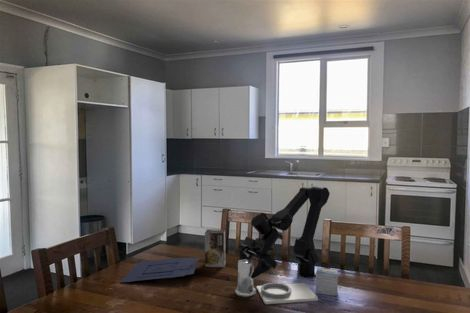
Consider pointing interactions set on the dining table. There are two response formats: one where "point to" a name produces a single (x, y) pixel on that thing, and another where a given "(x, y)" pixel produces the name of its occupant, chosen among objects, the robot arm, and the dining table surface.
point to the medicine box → (327, 281)
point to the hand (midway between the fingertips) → (244, 274)
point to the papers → (162, 269)
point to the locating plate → (295, 289)
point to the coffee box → (214, 248)
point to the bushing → (245, 278)
